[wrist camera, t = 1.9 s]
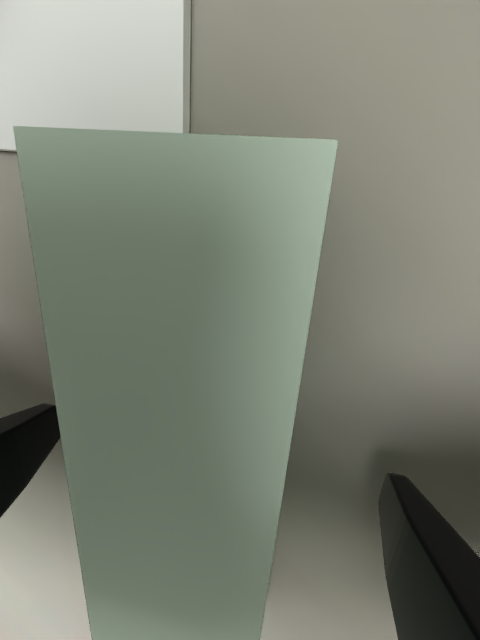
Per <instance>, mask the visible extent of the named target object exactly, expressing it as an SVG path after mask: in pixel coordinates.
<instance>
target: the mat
mask: <svg viewBox="0 0 480 640" xmlns="http://www.w3.org/2000/svg"><path fill="white" fill-rule="evenodd" d="M190 44H191V0H0V151H15V152H17V150H16V144H15V137H14V131H13V126H28V127H51V128H75V129H98V130H121V131H145V132H168V133H189V130H190Z"/></svg>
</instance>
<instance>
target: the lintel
mask: <svg viewBox="0 0 480 640" xmlns="http://www.w3.org/2000/svg"><path fill="white" fill-rule="evenodd" d="M13 131H14V137H15V144H16V150H17V157H18V163H19V170H20V176H21V183H22V189H23V196H24V202H25V209H26V215H27V222H28V228H29V235H30V241H31V248H32V254H33V261H34V267H35V274H36V280H37V287H38V293H39V300H40V306H41V313H42V319H43V326H44V332H45V339H46V345H47V351H48V358H49V364H50V371H51V377H52V384H53V390H54V397H55V403H56V410H57V416H58V423H59V429H60V436H61V442H62V449H63V455H64V462H65V468H66V475H67V481H68V488H69V494H70V501H71V507H72V514H73V520H74V527H75V533H76V540H77V546H78V553H79V559H80V566H81V572H82V579H83V585H84V592H85V598H86V605H87V611H88V618H89V624H90V631H91V637H92V640H260V637H261V630H262V624H263V618H264V611H265V605H266V598H267V592H268V586H269V579H270V573H271V566H272V560H273V554H274V547H275V541H276V534H277V528H278V522H279V515H280V509H281V503H282V496H283V490H284V483H285V477H286V471H287V464H288V458H289V451H290V445H291V439H292V432H293V426H294V419H295V413H296V407H297V400H298V394H299V387H300V381H301V375H302V368H303V362H304V355H305V349H306V343H307V336H308V330H309V323H310V317H311V311H312V304H313V298H314V291H315V285H316V279H317V272H318V266H319V259H320V253H321V247H322V240H323V234H324V228H325V221H326V215H327V208H328V202H329V196H330V189H331V183H332V176H333V170H334V164H335V157H336V151H337V144H338V140H331V139H308V138H285V137H261V136H238V135H215V134H191V133H168V132H145V131H121V130H98V129H75V128H51V127H28V126H13Z"/></svg>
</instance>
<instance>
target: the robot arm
mask: <svg viewBox="0 0 480 640" xmlns="http://www.w3.org/2000/svg"><path fill="white" fill-rule="evenodd" d="M60 437H61V436H60V429H59V423H58V416H57V410H56V405H51V404H41V405H38V406H35V407H32V408H29V409H26V410H23V411H20V412H17V413H14V414H11V415H9V416H6V417H3V418H0V518H1V516H2V515H3V514H4V513H5V512H6V510H7V509H8V508H9V507H10V506H11V504H12V503H13V502H14V501H15V499H16V498H17V497H18V496H19V495H20V493H21V492H22V491H23V490H24V488H25V487H26V486H27V484H28V483H29V482H30V480H31V479H32V478H33V476H34V475H35V473H36V472H37V470H38V469H39V468H40V466H41V465H42V463H43V462H44V460H45V459H46V457H47V456H48V455H49V453H50V452H51V450H52V449H53V447H54V446H55V445H56V443H57V442H58V440H59V439H60ZM379 516H380V526H381V536H382V546H383V556H384V565H385V574H386V580H387V586H388V591H389V596H390V601H391V606H392V611H393V616H394V621H395V626H396V631H397V636H398V640H480V558H479V556H478V555H477V554H476V553H475V552H474V551H473V550H472V549H471V548H470V546H469V545H468V544H467V543H466V542H465V541H464V540H463V539H462V538H461V536H460V535H459V534H458V533H457V532H456V531H455V530H454V529H453V528H452V527H451V525H450V524H449V523H448V522H447V521H446V520H445V519H444V518H443V517H442V515H441V514H440V513H439V512H438V511H437V510H436V509H435V508H434V507H433V505H432V504H431V503H430V502H429V501H428V500H427V499H426V498H425V497H424V495H423V494H422V493H421V492H420V491H419V490H418V489H417V488H416V487H415V485H414V484H413V483H412V482H411V481H410V480H409V479H408V478H407V477H406V476H404V475H399V474H394V473H387V475H386V476H385V479H384V483H383V486H382V490H381V493H380V496H379Z"/></svg>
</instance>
